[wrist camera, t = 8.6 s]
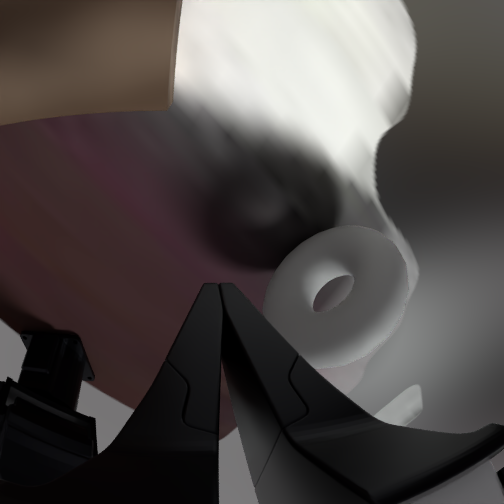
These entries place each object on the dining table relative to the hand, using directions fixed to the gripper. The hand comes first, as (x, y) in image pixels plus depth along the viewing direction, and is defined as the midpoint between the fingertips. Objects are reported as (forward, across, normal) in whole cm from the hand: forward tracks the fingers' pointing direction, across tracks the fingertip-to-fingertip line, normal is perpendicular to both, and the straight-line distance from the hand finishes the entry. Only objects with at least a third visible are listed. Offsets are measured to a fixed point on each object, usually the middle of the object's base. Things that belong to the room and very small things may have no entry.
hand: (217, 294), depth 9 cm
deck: (+12, +9, -10) cm, 18 cm away
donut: (+12, -8, +6) cm, 16 cm away
